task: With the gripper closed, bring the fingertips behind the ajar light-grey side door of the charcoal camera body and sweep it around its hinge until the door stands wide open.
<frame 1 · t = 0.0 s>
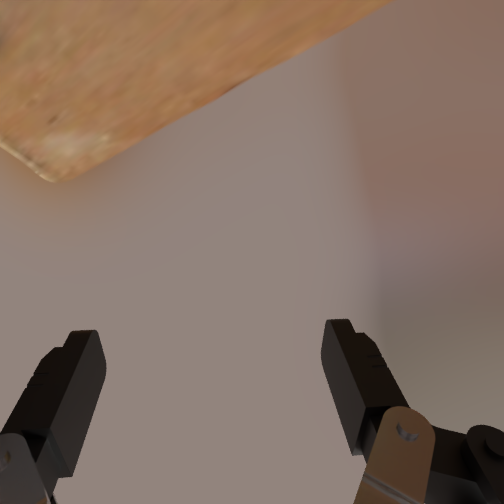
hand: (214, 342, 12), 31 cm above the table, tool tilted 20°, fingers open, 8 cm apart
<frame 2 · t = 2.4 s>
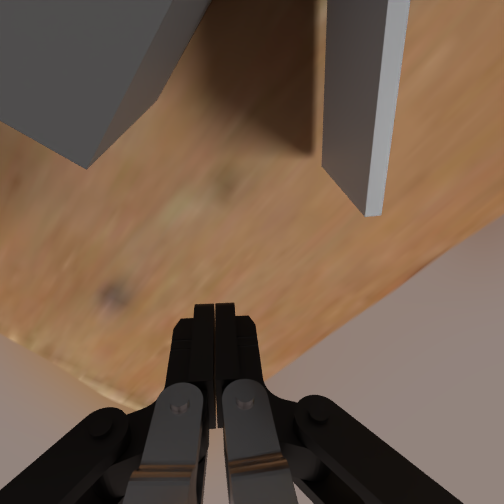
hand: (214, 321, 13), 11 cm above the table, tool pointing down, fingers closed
side door: (366, 13, 14), point 4 cm above the table, hinge at 40.0°
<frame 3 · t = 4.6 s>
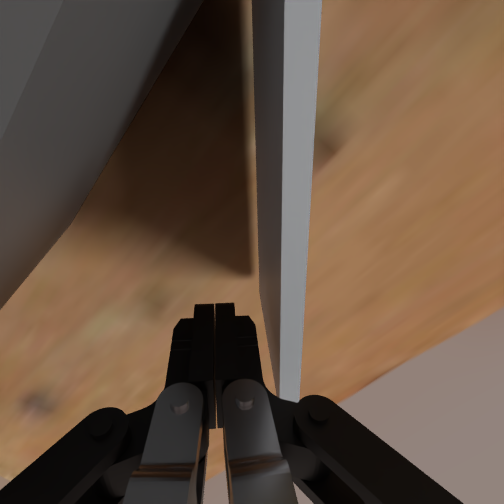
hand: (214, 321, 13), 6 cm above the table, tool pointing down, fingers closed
side door: (283, 185, 12), point 5 cm above the table, hinge at 40.2°, touching gripper
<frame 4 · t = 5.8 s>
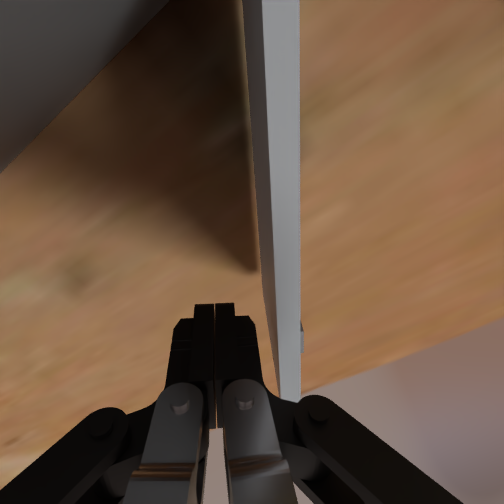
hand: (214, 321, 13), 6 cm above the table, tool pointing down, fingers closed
side door: (278, 184, 12), point 4 cm above the table, hinge at 56.5°, touching gripper
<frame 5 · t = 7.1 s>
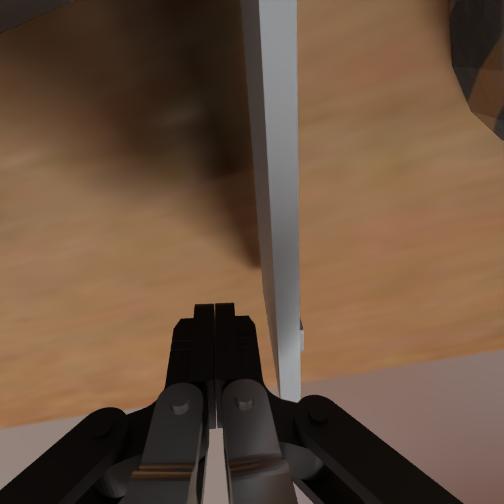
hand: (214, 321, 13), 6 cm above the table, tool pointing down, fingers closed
side door: (278, 183, 12), point 4 cm above the table, hinge at 75.4°, touching gripper
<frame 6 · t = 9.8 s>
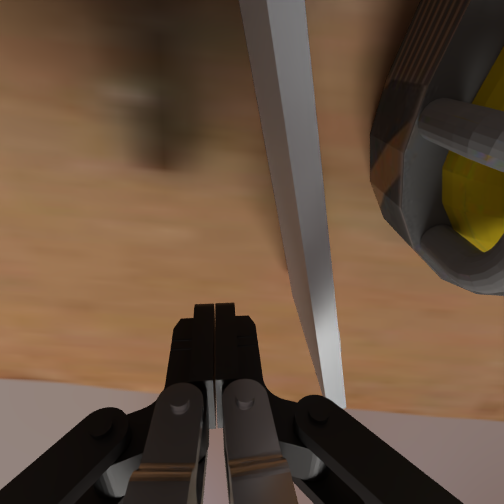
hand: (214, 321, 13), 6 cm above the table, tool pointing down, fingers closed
side door: (299, 195, 12), point 4 cm above the table, hinge at 105.2°
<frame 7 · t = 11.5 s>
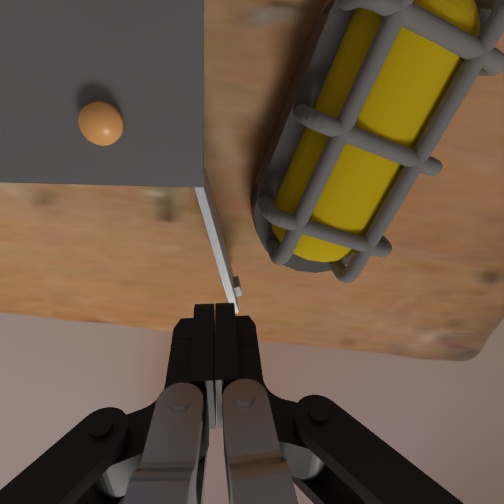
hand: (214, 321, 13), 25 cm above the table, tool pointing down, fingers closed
camera body: (119, 35, 29), on the table
side door: (219, 234, 34), point 4 cm above the table, hinge at 105.2°
cage light: (346, 131, 36), on the table
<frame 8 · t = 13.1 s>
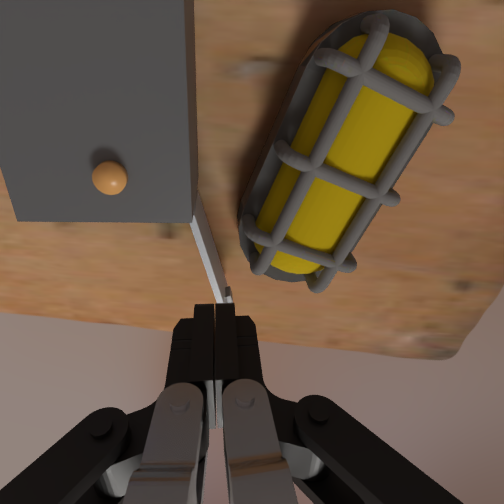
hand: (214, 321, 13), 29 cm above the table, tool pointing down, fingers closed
camera body: (125, 88, 35), on the table
side door: (211, 252, 40), point 4 cm above the table, hinge at 105.2°
cage light: (323, 161, 41), on the table
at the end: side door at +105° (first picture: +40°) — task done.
